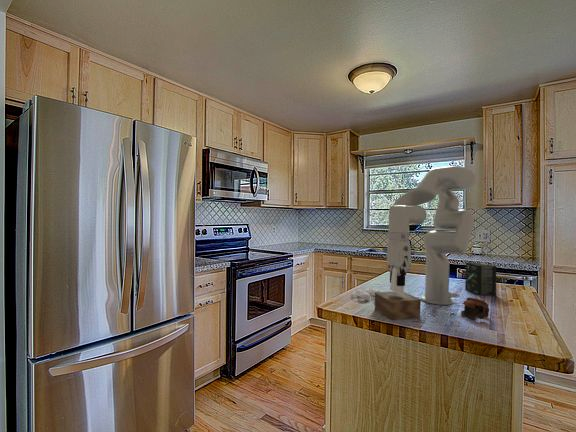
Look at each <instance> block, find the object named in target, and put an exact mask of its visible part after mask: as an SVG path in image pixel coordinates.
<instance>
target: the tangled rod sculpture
mask: <svg viewBox="0 0 576 432" xmlns="http://www.w3.org/2000/svg"><path fill="white" fill-rule="evenodd" d="M374 292H381V290H380V289H379V290H377V289H376V288H373V287H372V288H363V289H356V291H353V292H352V294H351V296H358V297H359V298H360V299H362V300H364V301H370V300H373V299H374V298H373V297H375V294H374Z"/></svg>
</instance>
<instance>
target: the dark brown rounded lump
mask: <svg viewBox="0 0 576 432" xmlns="http://www.w3.org/2000/svg"><path fill="white" fill-rule="evenodd" d="M462 305H464V308H463V310H461V312H460V317H463V318H466V319H470V320H472V321H477V318H479V320H484V319H485V318H487V317H489V312H490V308H489V304H488V303H487V302H486V301H484V300H481V299H478V298H474V297H467V298H466V300H465V301H463V302H462Z"/></svg>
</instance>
